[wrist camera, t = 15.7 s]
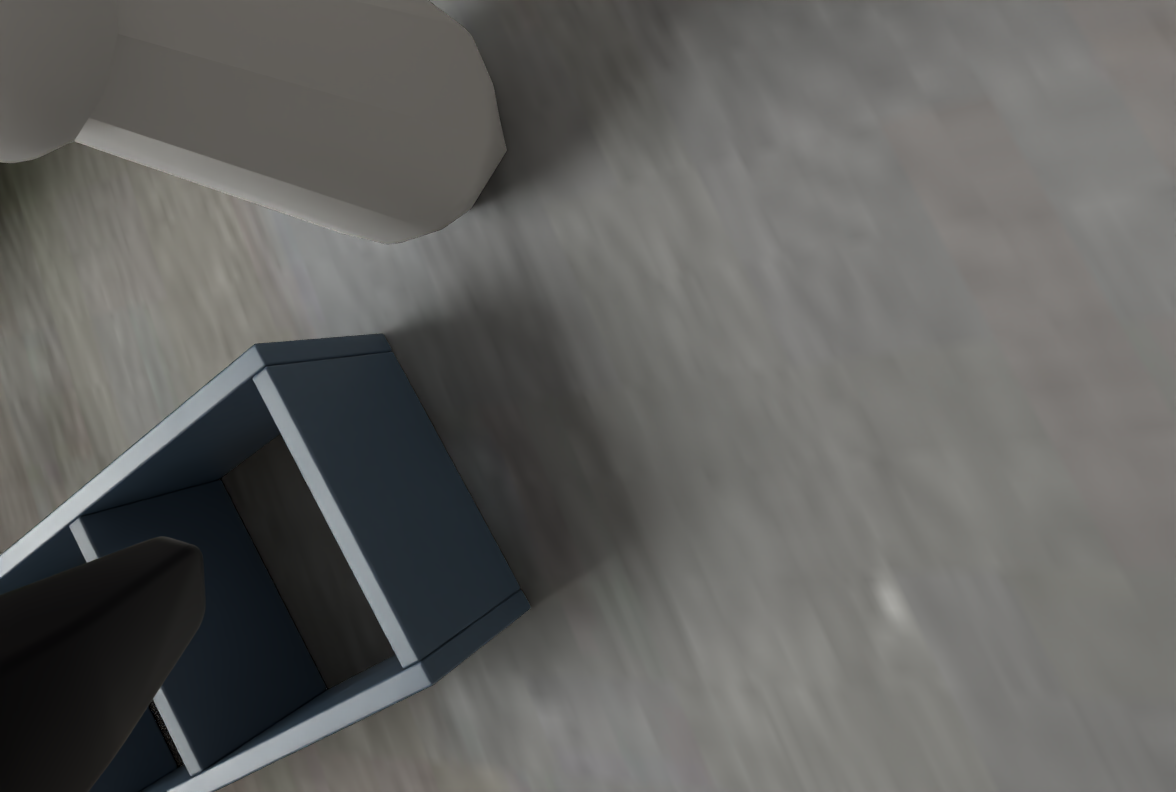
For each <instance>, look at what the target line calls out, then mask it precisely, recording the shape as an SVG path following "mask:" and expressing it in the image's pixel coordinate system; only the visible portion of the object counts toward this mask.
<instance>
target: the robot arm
mask: <svg viewBox="0 0 1176 792" xmlns="http://www.w3.org/2000/svg"><path fill="white" fill-rule="evenodd" d="M205 609H206V596H205V579H204V562H203V554H202V552H201V551H200V549H199V548H198V547H196V546H195V545H192V544H189V543H186V542H183V541H179V540H176V539H173V538H170V537H164V536H160V537H155V538H152V539H149V540H146V541H143V542H141V543H138V544H135V545H133V546H130V547H127V548H125V549H122V550H119V551H117V552H114V553H111V554H109V555H106V556H103V557H101V558H98V559H95V560H93V561H90V562H87V563H84V564H82V565H79V566H76V567H74V568H71V569H68V570H66V571H63V572H60V573H58V574H55V575H52V576H50V577H47V578H44V579H42V580H39V581H36V582H34V583H31V584H28V585H26V586H23V587H20V588H18V589H15V590H12V591H10V592H7V593H4V594H1V595H0V792H88V791H89V790H90V789H91V788H92V786H93V785H94V784H95V782H96V781H97V780H98V779H99V777H100V776H101V775H102V773H103V772H104V771H105V769H106V768H107V767H108V765H109V764H110V763H111V761H112V760H113V758H114V757H115V756H116V754H117V753H118V751H119V750H120V748H121V747H122V745H123V744H124V742H125V741H126V739H127V738H128V736H129V735H130V733H131V732H132V730H133V729H134V727H135V726H136V724H137V723H138V721H139V720H140V718H141V717H142V715H143V713H144V712H145V710H146V709H147V707H148V706H149V704H150V703H151V701H152V700H153V698H154V697H155V695H156V694H157V692H158V690H159V689H160V687H161V686H162V684H163V683H164V681H165V680H166V678H167V677H168V675H169V674H170V672H171V671H172V669H173V668H174V666H175V664H176V663H177V661H178V660H179V658H180V657H181V655H182V654H183V652H184V651H185V649H186V648H187V646H188V645H189V643H190V641H191V640H192V638H193V637H194V635H195V634H196V632H197V631H198V629H199V627H200V625H201V623H202V621H203V618H204V614H205Z"/></svg>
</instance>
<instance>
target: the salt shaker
mask: <svg viewBox="0 0 1176 792" xmlns="http://www.w3.org/2000/svg"><path fill="white" fill-rule="evenodd" d="M73 141H75V142H78V143H80V144H83V145H86V146H89V147H92V148H95V149H98V150H101V151H104V152H107V153H109V154H112V155H115V156H118V157H121V158H124V159H127V160H130V161H133V162H136V163H139V164H141V165H144V166H147V167H150V168H153V169H156V170H159V171H162V172H165V173H168V174H170V175H173V176H176V177H179V178H182V179H185V180H188V181H191V182H194V183H197V184H199V185H202V186H205V187H208V188H211V189H214V190H217V191H220V192H223V193H226V194H229V195H231V196H234V197H237V198H240V199H243V200H246V201H249V202H252V203H255V204H258V205H260V206H263V207H266V208H269V209H272V210H275V211H278V212H281V213H284V214H287V215H289V216H292V217H295V218H298V219H301V220H304V221H307V222H310V223H313V224H316V225H318V226H321V227H324V228H327V229H330V230H333V231H336V232H339V233H342V234H345V235H349V236H353V237H357V238H362V239H366V240H370V241H374V242H379V243H383V244H395V243H401V242H404V241H407V240H411V239H414V238H417V237H420V236H423V235H426V234H429V233H432V232H435V231H438V230H441V229H443V228H445V227H446V226H448V225H449V224H450V223H452V222H453V221H455V220H456V219H457V218H459V217H460V216H462V215H463V214H464V213H466V212H467V211H469V210H470V209H471V208H472V206H473V205H474V203H475V201H476V200H477V198H478V197H479V195H480V193H481V192H482V190H483V188H484V187H485V185H486V184H487V182H488V180H489V179H490V177H491V175H492V174H493V172H494V171H495V169H496V167H497V166H498V164H499V163H500V161H501V159H502V158H503V156H504V154H505V153H506V151H507V149H506V145H505V140H504V136H503V131H502V127H501V122H500V118H499V113H498V107H497V102H496V96H495V91H494V85H493V83H492V81H491V78H490V76H489V74H488V72H487V69H486V67H485V65H484V62H483V60H482V58H481V55H480V53H479V51H478V48H477V46H476V44H475V41H474V39H473V37H472V35H471V34H470V33H469V32H468V31H467V30H466V29H465V28H464V27H463V26H462V25H460V24H459V23H458V22H456V21H455V20H454V19H452V18H451V17H450V16H448V15H447V14H446V13H444V12H443V11H442V10H440V9H439V8H438V7H436V6H435V5H433V4H432V3H431V2H429V1H428V0H0V162H4V163H18V162H23V161H28V160H34V159H37V158H39V157H41V156H43V155H46V154H48V153H50V152H52V151H54V150H56V149H58V148H60V147H62V146H65V145H67V144H69V143H71V142H73Z"/></svg>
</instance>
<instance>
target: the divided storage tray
mask: <svg viewBox="0 0 1176 792" xmlns="http://www.w3.org/2000/svg"><path fill="white" fill-rule="evenodd" d="M391 351H392V349H391V347H390V345H389V344H388V342H387V340H386V338H385V336H384V335H383V334H370V335H358V336H345V337H333V338H321V339H308V340H296V341H284V342H271V343H259V344H254V345H253V346H252V347H250V348H249V349H248V350H247V351H246V352H244V353H243V354H242V355H241V356H240V357H238V358H237V359H236V360H235V361H234V362H232V363H231V364H230V365H229V366H228V367H226V368H225V369H224V370H223V371H221V372H220V373H219V374H218V375H217V376H215V377H214V378H213V379H212V380H211V381H209V382H208V383H207V384H206V385H205V386H203V387H202V388H201V389H200V390H199V391H197V392H196V393H195V394H194V395H193V396H191V397H190V398H189V399H188V400H187V401H185V402H184V403H183V404H182V405H181V406H179V407H178V408H177V409H176V410H175V411H173V412H172V413H171V414H170V415H168V416H167V417H166V418H165V419H164V420H162V421H161V422H160V423H159V424H158V425H156V426H155V427H154V428H153V429H152V430H150V431H149V432H148V433H147V434H146V435H144V436H143V437H142V438H141V439H140V440H138V441H137V442H136V443H135V444H134V445H132V446H131V447H130V448H129V449H128V450H126V451H125V452H124V453H123V454H122V455H120V456H119V457H118V458H117V459H116V460H114V461H113V462H112V463H111V464H109V465H108V466H107V467H106V468H105V469H103V470H102V471H101V472H100V473H99V474H97V475H96V476H95V477H94V478H93V479H91V480H90V481H89V482H88V483H87V484H85V485H84V486H83V487H82V488H81V489H79V490H78V491H77V492H76V493H75V494H73V495H72V496H71V497H70V498H69V499H67V500H66V501H65V502H64V503H63V504H61V505H60V506H59V507H58V508H56V509H55V510H54V511H53V512H52V513H50V514H49V515H48V516H47V517H46V518H44V519H43V520H42V521H41V522H40V523H38V524H37V525H36V526H35V527H34V528H32V529H31V530H30V531H29V532H28V533H26V534H25V535H24V536H23V537H22V538H20V539H19V540H18V541H17V542H16V543H14V544H13V545H12V546H11V547H10V548H8V549H7V550H6V551H5V552H3V553H2V554H1V555H0V595H1V594H4V593H7V592H10V591H12V590H15V589H18V588H20V587H23V586H26V585H28V584H31V583H34V582H36V581H39V580H42V579H44V578H47V577H50V576H52V575H55V574H58V573H60V572H63V571H66V570H68V569H71V568H74V567H76V566H79V565H82V564H84V563H87V562H90V561H93V560H95V559H98V558H101V557H103V556H106V555H109V554H111V553H114V552H117V551H119V550H122V549H125V548H127V547H130V546H133V545H135V544H138V543H141V542H143V541H146V540H149V539H152V538H155V537H160V536H164V537H170V538H173V539H176V540H179V541H183V542H186V543H189V544H192V545H195V546H196V547H198V548H199V549H200V551H201V552H202V554H203V562H204V579H205V596H206V609H205V614H204V618H203V621H202V623H201V625H200V627H199V629H198V631H197V632H196V634H195V635H194V637H193V638H192V640H191V641H190V643H189V645H188V646H187V648H186V649H185V651H184V652H183V654H182V655H181V657H180V658H179V660H178V661H177V663H176V664H175V666H174V668H173V669H172V671H171V672H170V674H169V675H168V677H167V678H166V680H165V681H164V683H163V684H162V686H161V687H160V689H159V690H158V692H157V694H156V695H155V697H154V698H153V701H154V703H155V705H156V707H157V709H158V711H159V713H160V715H161V717H162V719H163V721H164V723H165V725H166V727H167V729H168V732H169V734H170V736H171V738H172V740H173V742H174V744H175V746H176V748H177V750H178V752H179V754H180V756H181V758H182V760H183V762H184V765H183V766H181V767H179V768H177V764H176V762H175V760H174V758H173V756H172V754H171V752H170V750H169V748H168V746H167V744H166V742H165V740H164V738H163V735H162V733H161V731H160V729H159V727H158V725H157V723H156V721H155V719H154V717H153V715H152V713H151V711H150V709H149V707H147V709H146V710H145V712H144V713H143V715H142V717H141V718H140V720H139V721H138V723H137V724H136V726H135V727H134V729H133V730H132V732H131V733H130V735H129V736H128V738H127V739H126V741H125V742H124V744H123V745H122V747H121V748H120V750H119V751H118V753H117V754H116V756H115V757H114V758H113V760H112V761H111V763H110V764H109V765H108V767H107V768H106V769H105V771H104V772H103V773H102V775H101V776H100V777H99V779H98V780H97V781H96V782H95V784H94V785H93V786H92V788H91V789H90V790H89V791H88V792H214V791H217V790H219V789H221V788H223V787H225V786H227V785H229V784H231V783H233V782H235V781H237V780H239V779H241V778H243V777H245V776H247V775H249V774H251V773H254V772H256V771H258V770H260V769H262V768H264V767H266V766H268V765H270V764H272V763H274V762H276V761H278V760H280V759H282V758H284V757H286V756H289V755H291V754H293V753H295V752H297V751H299V750H301V749H303V748H305V747H307V746H309V745H311V744H313V743H315V742H317V741H319V740H321V739H323V738H326V737H328V736H330V735H332V734H334V733H336V732H338V731H340V730H342V729H344V728H346V727H348V726H350V725H352V724H354V723H356V722H358V721H361V720H363V719H365V718H367V717H369V716H371V715H373V714H375V713H377V712H379V711H381V710H383V709H385V708H387V707H389V706H391V705H393V704H395V703H398V702H400V701H402V700H404V699H406V698H408V697H410V696H412V695H414V694H416V693H418V692H420V691H422V690H424V689H426V688H428V687H430V686H433V685H434V684H435V683H437V682H438V681H439V680H440V679H442V678H443V677H444V676H445V675H447V674H448V673H449V672H451V671H452V670H453V669H454V668H456V667H457V666H458V665H459V664H461V663H462V662H463V661H465V660H466V659H467V658H468V657H470V656H471V655H472V654H473V653H475V652H476V651H477V650H479V649H480V648H481V647H482V646H484V645H485V644H486V643H487V642H489V641H490V640H491V639H493V638H494V637H495V636H496V635H498V634H499V633H500V632H501V631H503V630H504V629H505V628H507V627H508V626H509V625H510V624H512V623H513V622H514V621H515V620H517V619H518V618H519V617H521V616H522V615H523V614H524V613H526V612H527V611H528V610H529V609H530V608H531V606H530V604H529V602H528V600H527V599H526V597H525V595H524V593H523V591H522V590H519V589H520V586H519V584H518V582H517V580H516V578H515V577H514V575H513V573H512V571H511V569H510V567H509V565H508V564H507V562H506V560H505V558H504V556H503V554H502V553H501V551H500V549H499V547H498V545H497V543H496V541H495V540H494V538H493V536H492V534H491V532H490V530H489V528H488V527H487V525H486V523H485V521H484V519H483V517H482V516H481V514H480V512H479V510H478V508H477V506H476V504H475V503H474V501H473V499H472V497H471V495H470V493H469V492H468V490H467V488H466V486H465V484H464V482H463V480H462V479H461V477H460V475H459V473H458V471H457V469H456V468H455V466H454V464H453V462H452V460H451V458H450V456H449V455H448V453H447V451H446V449H445V447H444V445H443V444H442V442H441V440H440V438H439V436H438V434H437V432H436V431H435V429H434V427H433V425H432V423H431V421H430V419H429V418H428V416H427V414H426V412H425V410H424V408H423V407H422V405H421V403H420V401H419V399H418V397H417V395H416V394H415V392H414V390H413V388H412V386H411V384H410V383H409V381H408V379H407V377H406V375H405V373H404V371H403V370H402V368H401V366H400V364H399V362H398V360H397V359H396V357H395V355H394V353H393V352H391ZM279 434H281V435H282V437H283V439H284V441H285V443H286V445H287V447H288V449H289V451H290V453H291V454H292V456H293V458H294V460H295V462H296V464H297V466H298V468H299V470H300V472H301V474H302V476H303V478H304V479H305V481H306V483H307V485H308V487H309V489H310V491H311V493H312V495H313V497H314V499H315V501H316V503H317V504H318V506H319V508H320V510H321V512H322V514H323V516H324V518H325V520H326V522H327V524H328V526H329V528H330V529H331V531H332V533H333V535H334V537H335V539H336V541H337V543H338V545H339V547H340V549H341V551H342V553H343V554H344V556H345V558H346V560H347V562H348V564H349V566H350V568H351V570H352V572H353V574H354V576H355V578H356V580H357V581H358V583H359V585H360V587H361V589H362V591H363V593H364V595H365V597H366V599H367V601H368V603H369V605H370V606H371V608H372V610H373V612H374V614H375V616H376V618H377V620H378V622H379V624H380V626H381V628H382V630H383V631H384V633H385V635H386V637H387V639H388V641H389V643H390V645H391V647H392V649H393V651H394V653H395V655H393V656H391V657H390V658H388V659H386V660H384V661H382V662H380V663H378V664H376V665H374V666H372V667H370V668H368V669H367V670H365V671H363V672H361V673H359V674H357V675H355V676H353V677H351V678H349V679H347V680H345V681H344V682H342V683H340V684H338V685H336V686H334V687H332V688H330V689H328V690H326V689H327V687H326V685H325V684H324V682H323V680H322V678H321V676H320V674H319V672H318V670H317V668H316V666H315V664H314V662H313V660H312V658H311V656H310V654H309V652H308V650H307V648H306V646H305V644H304V642H303V640H302V638H301V636H300V634H299V632H298V630H297V628H296V626H295V625H294V623H293V621H292V619H291V617H290V615H289V613H288V611H287V609H286V607H285V605H284V603H283V601H282V599H281V597H280V595H279V593H278V591H277V589H276V587H275V585H274V583H273V581H272V579H271V577H270V575H269V573H268V571H267V569H266V568H265V566H264V564H263V562H262V560H261V558H260V556H259V554H258V552H257V550H256V548H255V546H254V544H253V542H252V540H251V538H250V536H249V534H248V532H247V530H246V528H245V526H244V524H243V522H242V520H241V518H240V516H239V514H238V512H237V510H236V509H235V507H234V505H233V503H232V501H231V499H230V497H229V495H228V493H227V491H226V489H225V487H224V485H223V483H222V481H221V480H219V479H220V478H221V477H223V476H224V475H225V474H227V473H228V472H229V471H231V470H232V469H233V468H235V467H236V466H237V465H239V464H240V463H242V462H243V461H244V460H246V459H247V458H248V457H250V456H251V455H252V454H254V453H255V452H256V451H258V450H259V449H260V448H262V447H263V446H264V445H266V444H267V443H268V442H270V441H271V440H272V439H274V438H275V437H277V436H278V435H279ZM176 768H177V769H176Z"/></svg>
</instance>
